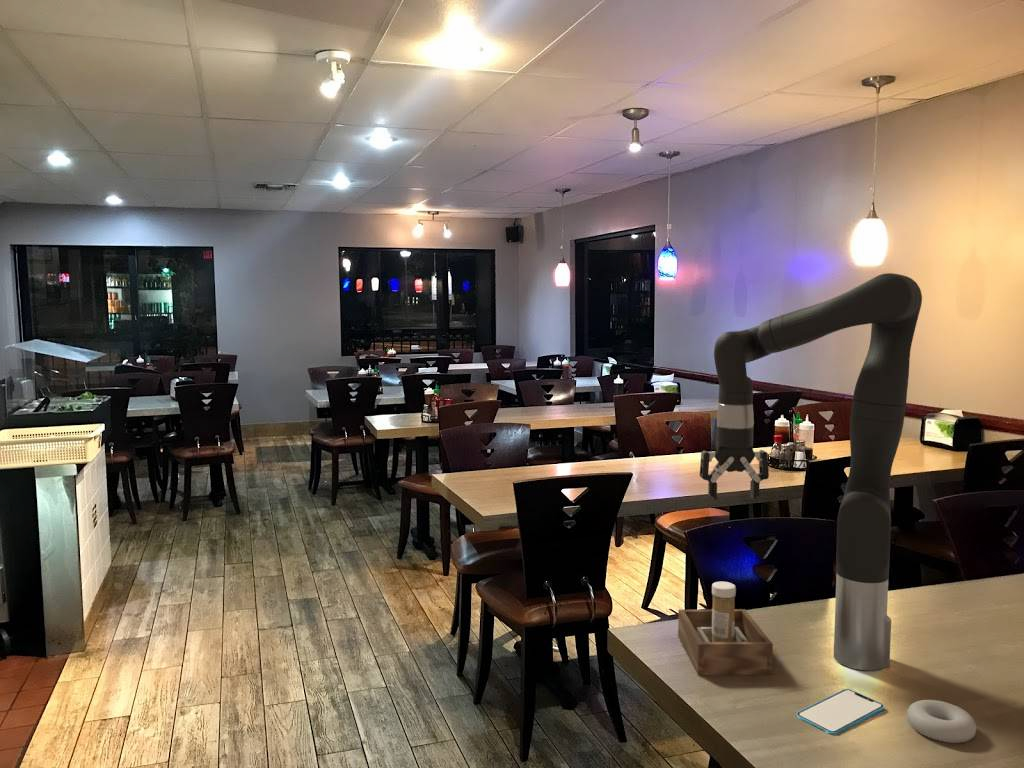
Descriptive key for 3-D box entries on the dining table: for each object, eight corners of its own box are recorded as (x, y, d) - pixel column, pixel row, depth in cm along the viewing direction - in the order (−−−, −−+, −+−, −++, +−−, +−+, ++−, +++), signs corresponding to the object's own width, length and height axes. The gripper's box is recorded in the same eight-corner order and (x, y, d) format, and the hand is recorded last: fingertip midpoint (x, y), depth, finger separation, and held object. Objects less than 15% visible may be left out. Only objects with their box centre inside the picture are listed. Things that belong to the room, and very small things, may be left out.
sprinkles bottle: (739, 651, 153) (740, 585, 152) (723, 657, 151) (725, 590, 149) (721, 643, 157) (722, 579, 156) (705, 648, 154) (707, 583, 153)
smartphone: (793, 713, 131) (847, 687, 139) (793, 720, 131) (846, 693, 139) (833, 734, 124) (886, 705, 132) (833, 740, 124) (886, 712, 133)
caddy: (744, 636, 162) (745, 609, 162) (771, 674, 145) (772, 643, 145) (678, 637, 162) (678, 609, 162) (698, 675, 145) (698, 644, 145)
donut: (919, 709, 133) (896, 729, 127) (920, 690, 133) (897, 709, 126) (984, 732, 126) (963, 754, 119) (985, 711, 126) (965, 733, 119)
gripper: (762, 421, 169) (760, 494, 170) (697, 422, 168) (696, 494, 170) (774, 426, 161) (772, 502, 163) (706, 427, 161) (704, 503, 162)
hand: (733, 498), depth 166 cm, fingers open, 8 cm apart
